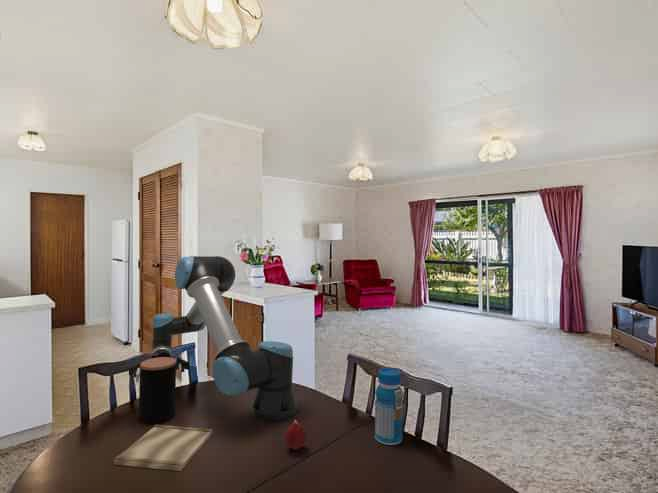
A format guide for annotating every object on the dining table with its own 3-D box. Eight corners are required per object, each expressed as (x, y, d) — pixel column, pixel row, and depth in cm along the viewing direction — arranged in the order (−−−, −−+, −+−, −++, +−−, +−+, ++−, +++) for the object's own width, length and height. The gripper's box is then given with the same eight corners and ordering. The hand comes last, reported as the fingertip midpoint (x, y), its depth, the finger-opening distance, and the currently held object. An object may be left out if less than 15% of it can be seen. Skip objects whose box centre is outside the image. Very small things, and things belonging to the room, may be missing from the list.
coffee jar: (181, 411, 122) (182, 357, 122) (163, 426, 111) (165, 368, 111) (151, 409, 123) (152, 356, 123) (131, 424, 112) (132, 366, 112)
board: (212, 434, 107) (212, 429, 107) (180, 471, 89) (181, 465, 89) (155, 429, 109) (156, 424, 109) (113, 464, 91) (114, 458, 91)
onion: (309, 446, 102) (309, 417, 102) (300, 457, 97) (301, 427, 97) (290, 442, 104) (291, 414, 104) (281, 452, 98) (282, 423, 99)
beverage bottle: (376, 446, 103) (377, 376, 103) (372, 431, 111) (373, 366, 111) (405, 446, 103) (407, 376, 103) (399, 431, 111) (401, 366, 112)
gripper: (193, 363, 150) (196, 382, 131) (125, 370, 140) (117, 391, 121) (194, 345, 150) (197, 361, 131) (126, 351, 140) (118, 368, 121)
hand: (159, 375), depth 126 cm, fingers open, 13 cm apart
